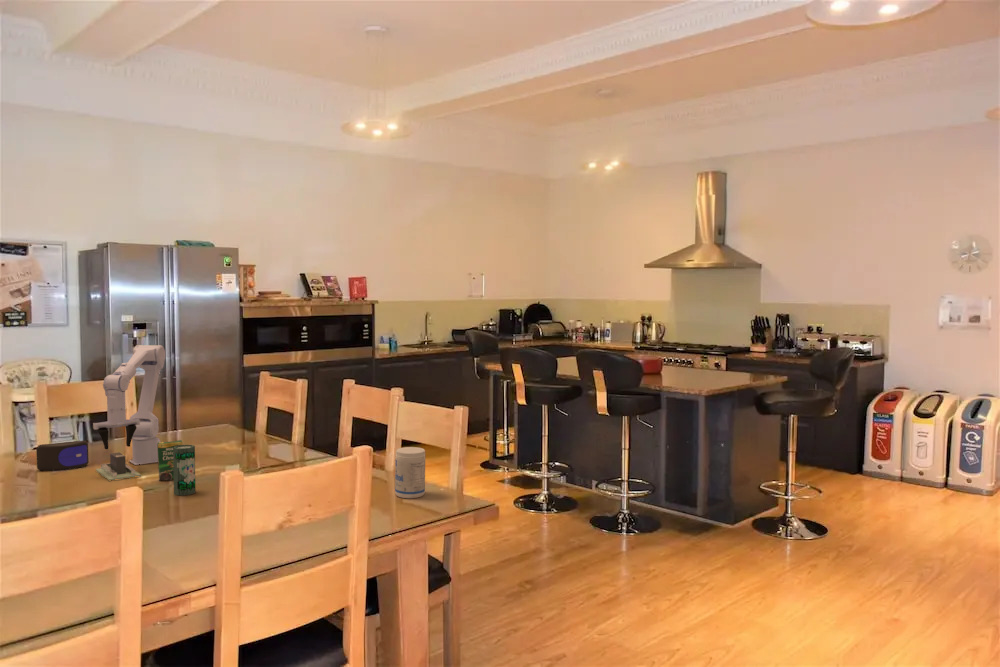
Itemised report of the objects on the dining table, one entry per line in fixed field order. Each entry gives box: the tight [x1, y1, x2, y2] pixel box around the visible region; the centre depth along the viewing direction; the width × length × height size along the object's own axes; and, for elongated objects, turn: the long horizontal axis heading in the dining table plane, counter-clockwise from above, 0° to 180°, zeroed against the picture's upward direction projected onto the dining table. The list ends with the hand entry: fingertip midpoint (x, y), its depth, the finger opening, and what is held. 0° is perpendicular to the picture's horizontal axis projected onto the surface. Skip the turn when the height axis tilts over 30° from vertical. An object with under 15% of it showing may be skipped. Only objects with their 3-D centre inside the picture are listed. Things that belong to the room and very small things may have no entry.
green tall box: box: [173, 444, 197, 497], centre depth 246 cm, size 6×6×15 cm
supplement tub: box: [394, 446, 426, 499], centre depth 246 cm, size 10×10×15 cm
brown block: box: [109, 451, 127, 475], centre depth 269 cm, size 3×8×6 cm, turn 40°
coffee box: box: [157, 439, 183, 482], centre depth 262 cm, size 8×3×13 cm, turn 115°
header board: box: [95, 462, 142, 481], centre depth 269 cm, size 10×18×2 cm, turn 40°
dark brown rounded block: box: [35, 440, 89, 472], centre depth 275 cm, size 16×5×9 cm, turn 123°
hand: (117, 447), depth 269 cm, fingers open, 6 cm apart
